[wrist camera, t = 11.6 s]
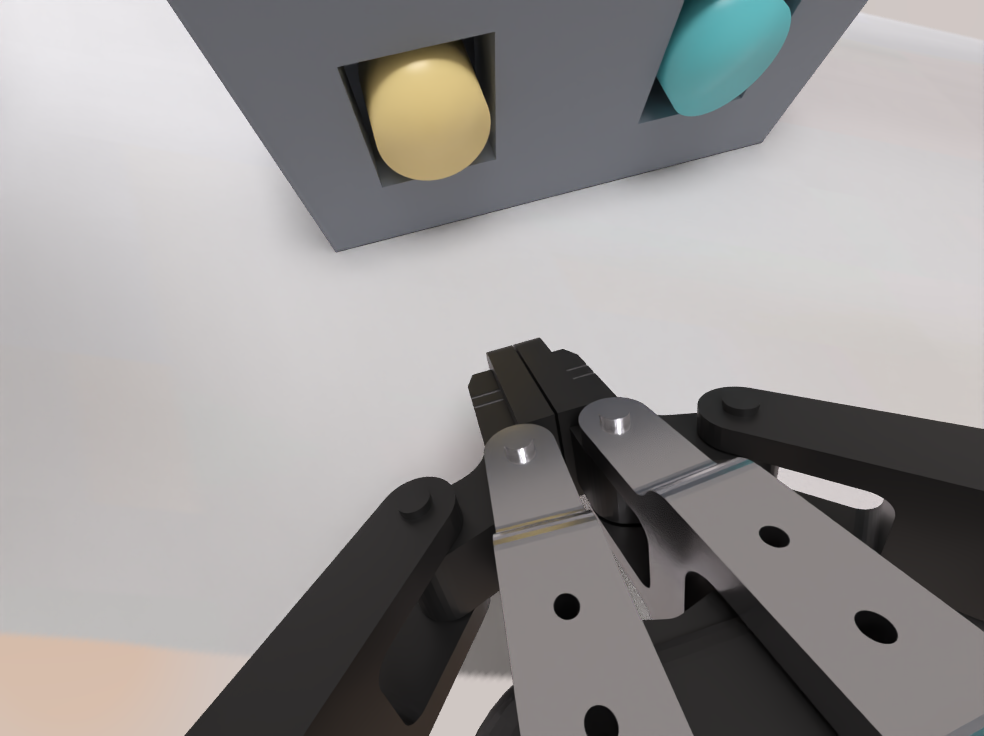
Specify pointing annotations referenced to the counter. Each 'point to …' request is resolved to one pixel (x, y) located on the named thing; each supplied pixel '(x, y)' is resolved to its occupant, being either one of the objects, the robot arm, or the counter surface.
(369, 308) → the counter surface
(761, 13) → the teal button
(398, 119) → the mustard button
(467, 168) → the console
